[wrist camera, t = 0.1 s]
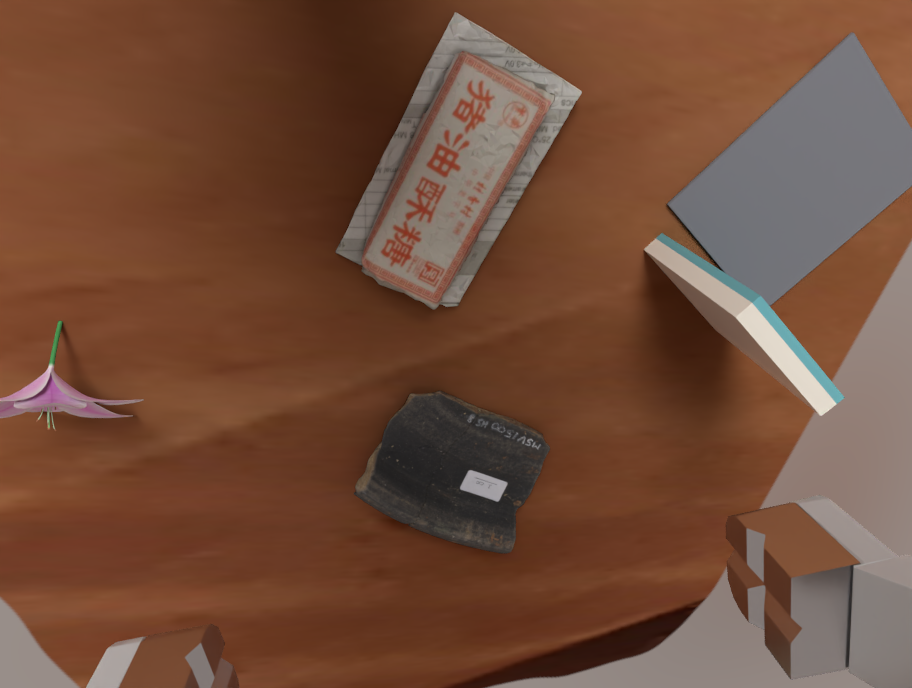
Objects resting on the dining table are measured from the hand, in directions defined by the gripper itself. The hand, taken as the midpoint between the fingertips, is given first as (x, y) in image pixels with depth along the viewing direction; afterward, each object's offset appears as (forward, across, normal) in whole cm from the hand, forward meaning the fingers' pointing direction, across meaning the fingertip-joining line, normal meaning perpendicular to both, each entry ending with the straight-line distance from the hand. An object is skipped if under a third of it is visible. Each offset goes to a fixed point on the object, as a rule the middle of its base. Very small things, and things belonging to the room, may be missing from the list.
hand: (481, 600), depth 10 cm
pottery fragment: (+42, 0, +21) cm, 46 cm away
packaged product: (+39, -4, -3) cm, 40 cm away
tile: (+40, -21, +8) cm, 46 cm away
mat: (+39, -30, +2) cm, 49 cm away
